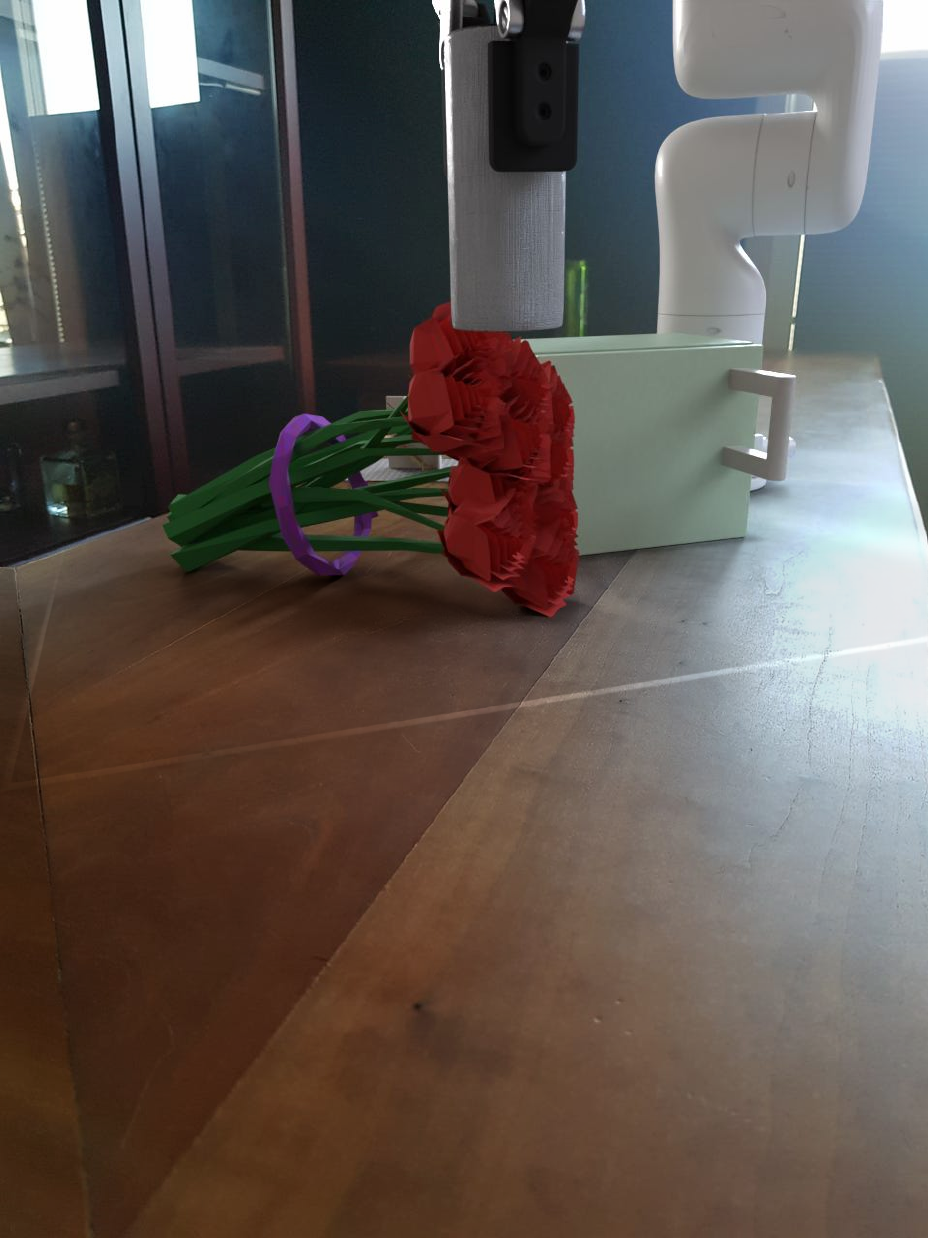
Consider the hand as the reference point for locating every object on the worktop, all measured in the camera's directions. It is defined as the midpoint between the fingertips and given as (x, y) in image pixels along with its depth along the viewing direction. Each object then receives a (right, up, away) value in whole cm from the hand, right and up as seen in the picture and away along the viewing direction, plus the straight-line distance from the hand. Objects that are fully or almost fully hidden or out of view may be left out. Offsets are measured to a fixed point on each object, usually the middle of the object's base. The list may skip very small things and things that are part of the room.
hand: (506, 170), depth 36 cm
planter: (0, -6, +2) cm, 6 cm away
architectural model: (-7, -2, +64) cm, 64 cm away
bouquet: (-9, -15, +28) cm, 33 cm away
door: (+13, -13, +32) cm, 37 cm away
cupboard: (+10, -10, +40) cm, 43 cm away
